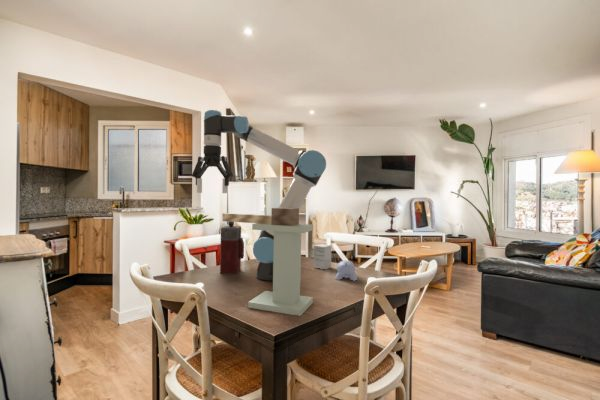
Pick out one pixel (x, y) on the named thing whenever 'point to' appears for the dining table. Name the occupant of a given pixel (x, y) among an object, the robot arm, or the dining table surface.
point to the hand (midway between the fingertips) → (211, 193)
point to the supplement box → (322, 256)
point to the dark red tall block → (231, 249)
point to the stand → (284, 271)
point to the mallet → (267, 217)
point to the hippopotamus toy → (346, 270)
